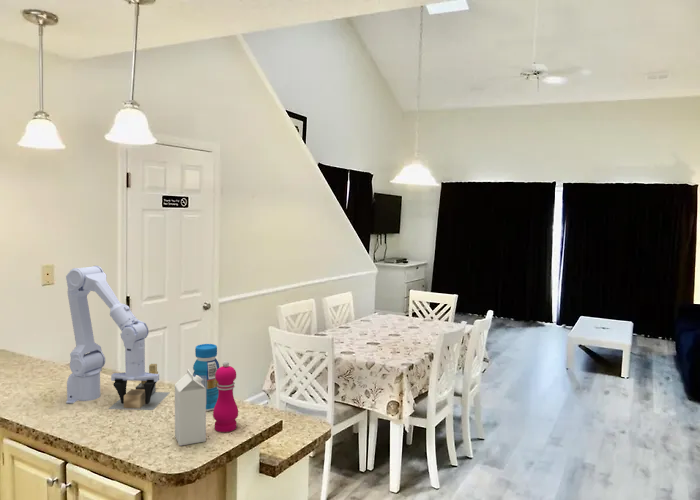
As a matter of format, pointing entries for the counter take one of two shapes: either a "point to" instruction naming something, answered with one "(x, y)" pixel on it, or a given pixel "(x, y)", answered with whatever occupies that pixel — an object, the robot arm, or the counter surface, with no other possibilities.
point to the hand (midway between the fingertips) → (135, 402)
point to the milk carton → (190, 410)
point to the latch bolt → (151, 370)
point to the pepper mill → (225, 399)
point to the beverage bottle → (207, 372)
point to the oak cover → (134, 398)
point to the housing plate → (154, 401)
